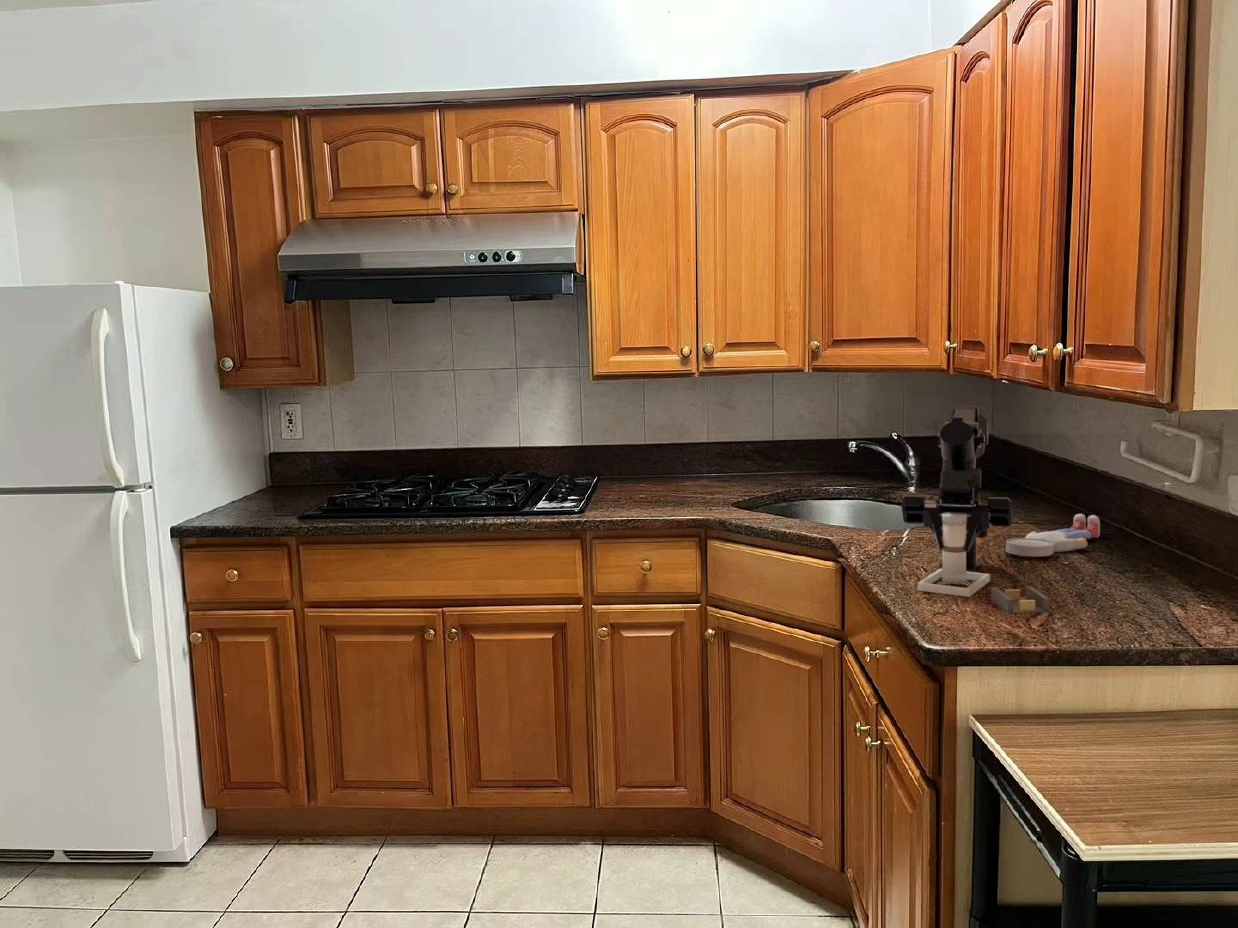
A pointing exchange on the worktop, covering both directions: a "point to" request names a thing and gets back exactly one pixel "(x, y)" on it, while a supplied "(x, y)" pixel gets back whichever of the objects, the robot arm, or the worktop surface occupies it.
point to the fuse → (954, 547)
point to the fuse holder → (1020, 600)
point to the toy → (1056, 539)
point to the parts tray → (960, 591)
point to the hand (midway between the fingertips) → (953, 549)
